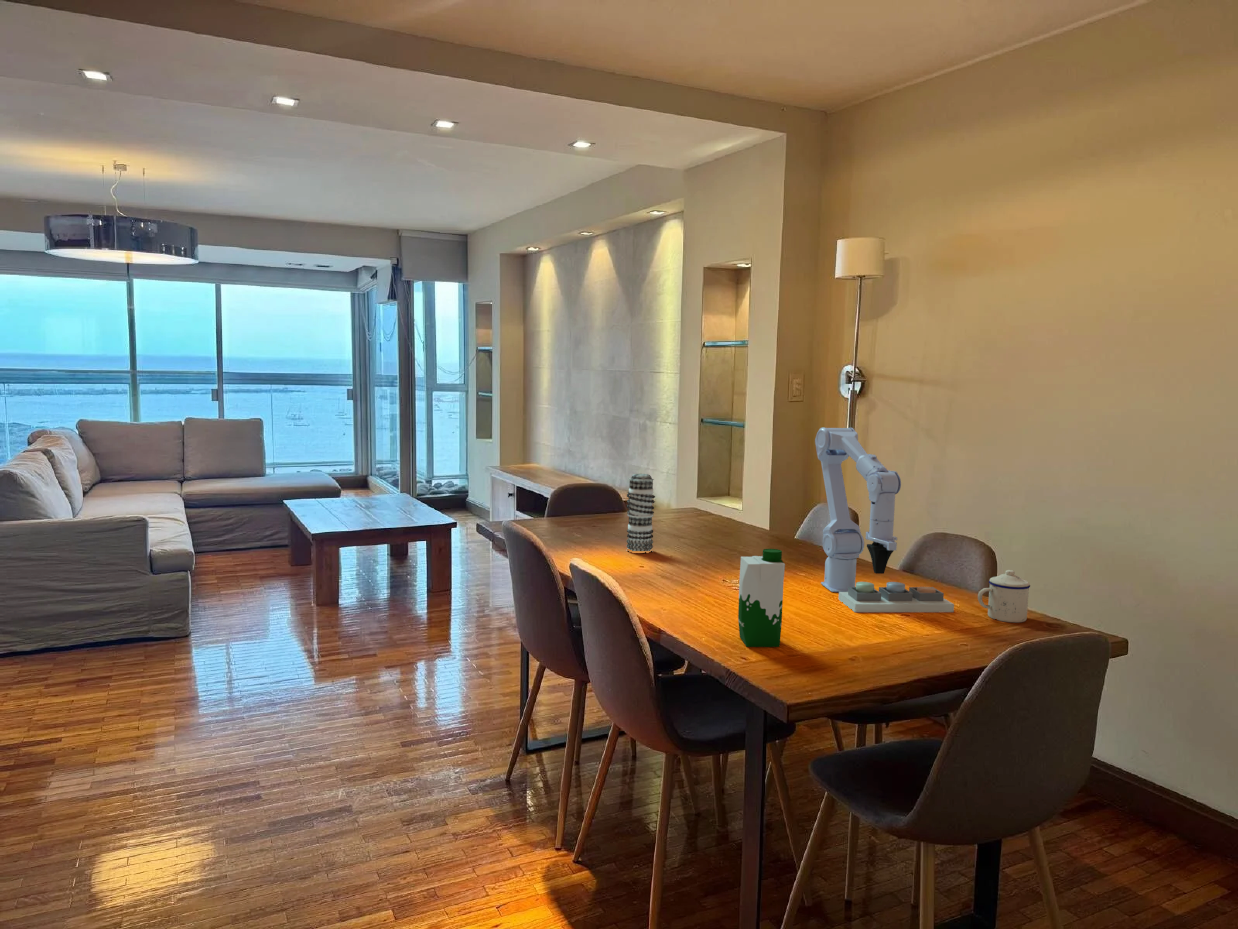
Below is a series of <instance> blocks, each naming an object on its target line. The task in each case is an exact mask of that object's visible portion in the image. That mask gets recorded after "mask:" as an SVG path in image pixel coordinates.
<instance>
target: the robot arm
mask: <svg viewBox="0 0 1238 929" xmlns="http://www.w3.org/2000/svg"><path fill="white" fill-rule="evenodd" d="M815 435H816V436H815V439H814V444H815V450H816V456H817V459H818V460H819V461H820V464H821V470H822V475H823V476H822V477H823V481H824V482H823V483H824V488H825V494H826V501H827V507H828V514H829V520H830V521H829V523H828V524H827V525H826V526H825V527H824V528H823V529H822V549H823V551H824V553H825V554H826V556H828V557H826V559H825V562H824V578H823V579H824V581H821V582H820V584H821V585H822V586H824V587H825V588H826V589H827V590H828V591H830V592H831V593H833V592H834V593H839V592H848V587H856V576H857V558H860V555H861V554H863V551H864V548H865V539H866V540H867V541H871V542H872V543H867V544H866V547H867V551H868V552H869V555H870V558H871V563H872V570H873V573H874V574H877V575H878V574H879V575H881V574H885V570H886V567H887V565H888V562H889V560H890V557H891V556H892V554H893V552H894V551H897V545H898V544H897V542H896V541H898V537H896V536H894V525H895V505H896V495H897V494H899V492H900V490H901V487H902V480H901V477H900V474H898V472H897V471H895V470H890V469H887V467H886V466H884V464H883V463H882V462H881V461H880V460H879V459H878V458H877V455H876V454H872V453H867V451H866V450H865V449H864V447H863V446H862V445H861V443H860V442H859V434H858V432H857V431H856V429H855V428H853V427H824V426H823V427H820V428H819V429H818V431H817V433H816V434H815ZM849 457H850V458H851V459H852V461H854V462H855V463H856V464H855V468H856V470H857V472H858V473H859V474H860V475H861V477H863V479H864V480H865V481H866V488H867V492H868V499H869V501H870V510H869V512H870V514H869V530H868V531H865V539H864V537H863V534H862V531H861V529H860V526H859V525H858V524H857V523H855V522H854V521H853V520H852V519H851V517H850V516H851V515H850V510H849V505H848V499H847V494H846V493H847V492H846V486H845V482H844V481H845V480H844V475H843V469H842V463H843V462H845V461H846V460H848V458H849Z"/></svg>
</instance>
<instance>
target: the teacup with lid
mask: <svg viewBox="0 0 1238 929" xmlns="http://www.w3.org/2000/svg"><path fill="white" fill-rule="evenodd" d="M988 583H989V587H984V588H982V589H981V590H979V591H978V594H977V600H978V602H979V605H980V606H981V607H982V608H985V609H987V616H988V617H989V618H991V619H992V620H995V619H997V620H996V621H1000V622H1005V623H1015V624H1016V623H1025V622H1026V621H1027V618H1028V607H1029V605H1028V604H1029V593H1030V592H1029V590H1030V588H1031V585H1030V582H1029V581H1028V580H1025V579H1023V578H1022V577H1020V576H1019V575H1017V574H1015V571H1014V570H1012V569H1007V570H1005V573H1002V574H999V575H998V576H992V577H990V578H989V581H988ZM985 593H988V604H985V602H983V596H984V594H985Z"/></svg>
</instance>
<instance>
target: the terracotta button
mask: <svg viewBox="0 0 1238 929" xmlns="http://www.w3.org/2000/svg"><path fill="white" fill-rule="evenodd" d="M917 587H918V588H917V591H919V592H920V593H935V592H936V590H935V589H936V588H935V587H933V588H930V586H917ZM934 588H935V589H934Z"/></svg>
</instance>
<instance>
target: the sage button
mask: <svg viewBox="0 0 1238 929" xmlns="http://www.w3.org/2000/svg"><path fill="white" fill-rule="evenodd" d="M855 587H856V591H857V592H858V593H874V589H875V584H874V583H873V582H868V581H857V582H855Z"/></svg>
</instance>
